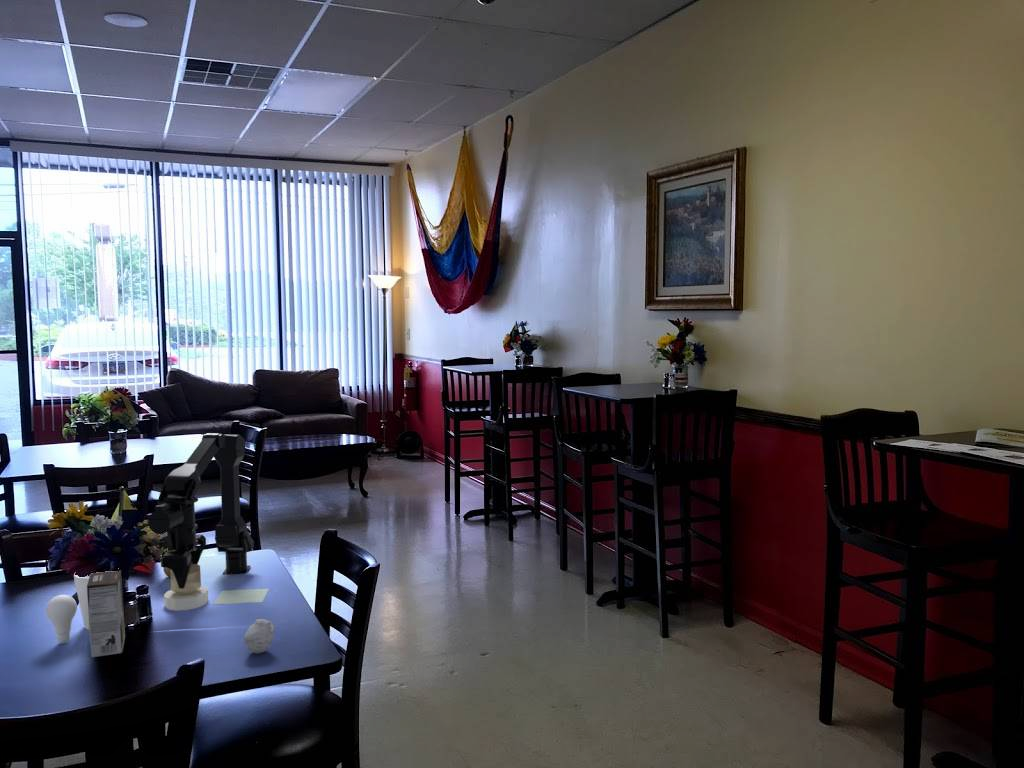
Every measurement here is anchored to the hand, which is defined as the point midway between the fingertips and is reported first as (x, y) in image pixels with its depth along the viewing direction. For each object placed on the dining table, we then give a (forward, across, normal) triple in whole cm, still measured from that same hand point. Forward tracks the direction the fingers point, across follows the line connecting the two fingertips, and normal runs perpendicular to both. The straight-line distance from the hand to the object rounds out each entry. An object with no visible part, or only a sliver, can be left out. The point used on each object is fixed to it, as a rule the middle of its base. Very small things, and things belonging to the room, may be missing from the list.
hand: (185, 583), depth 204 cm
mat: (+6, -3, +13) cm, 14 cm away
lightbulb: (+6, +21, -21) cm, 30 cm away
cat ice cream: (+6, -23, -10) cm, 26 cm away
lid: (+1, 0, 0) cm, 1 cm away
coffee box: (+6, +25, -10) cm, 28 cm away
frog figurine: (+6, +32, +24) cm, 40 cm away
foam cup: (+6, +11, -17) cm, 21 cm away
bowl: (+6, 0, 0) cm, 6 cm away
